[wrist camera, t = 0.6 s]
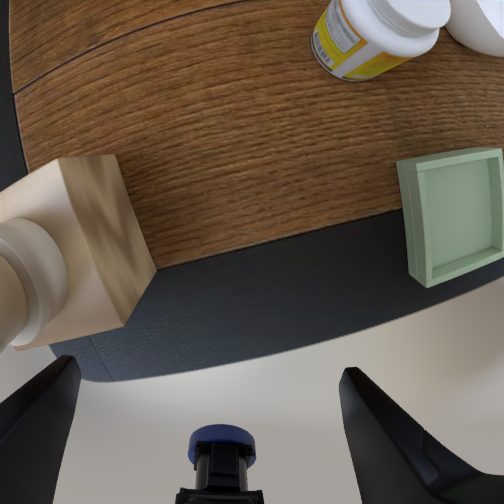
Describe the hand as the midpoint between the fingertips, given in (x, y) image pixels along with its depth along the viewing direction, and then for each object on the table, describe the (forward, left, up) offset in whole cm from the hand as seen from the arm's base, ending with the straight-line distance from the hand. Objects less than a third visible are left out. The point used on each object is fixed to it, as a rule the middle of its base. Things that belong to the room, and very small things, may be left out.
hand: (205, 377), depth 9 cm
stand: (0, +10, -14) cm, 17 cm away
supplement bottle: (+16, -7, -14) cm, 22 cm away
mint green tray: (+6, -18, -14) cm, 23 cm away
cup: (+24, -17, -14) cm, 32 cm away
